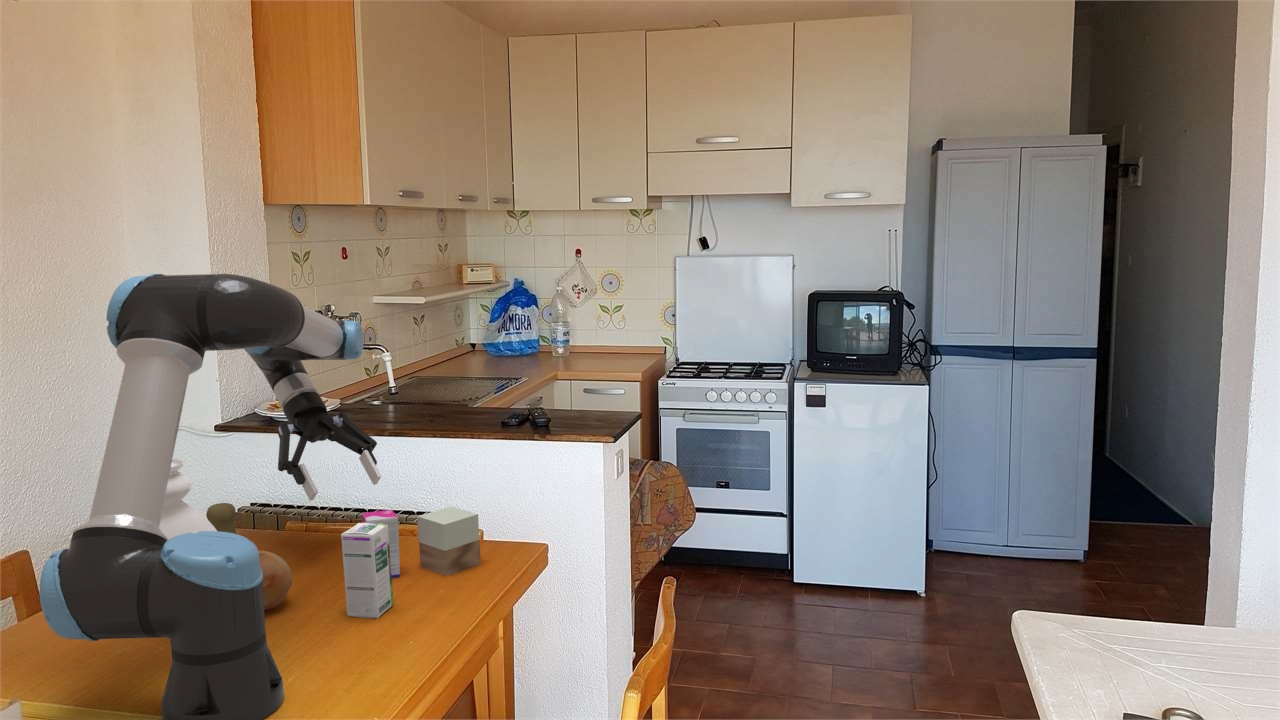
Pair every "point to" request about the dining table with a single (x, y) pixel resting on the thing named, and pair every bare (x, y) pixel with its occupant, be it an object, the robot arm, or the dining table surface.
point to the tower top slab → (448, 528)
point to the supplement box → (392, 522)
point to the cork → (222, 517)
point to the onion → (274, 579)
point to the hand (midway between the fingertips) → (346, 488)
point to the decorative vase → (180, 507)
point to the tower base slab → (450, 558)
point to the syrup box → (367, 570)
